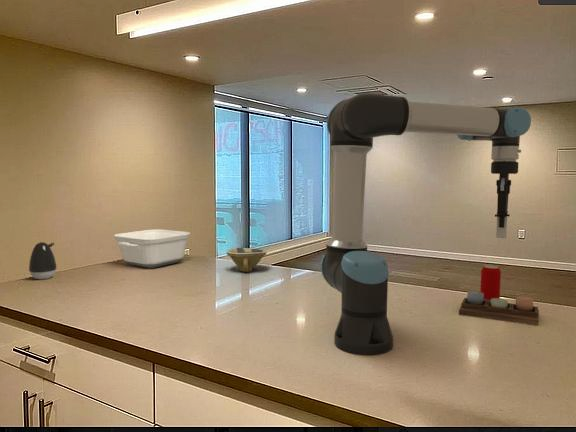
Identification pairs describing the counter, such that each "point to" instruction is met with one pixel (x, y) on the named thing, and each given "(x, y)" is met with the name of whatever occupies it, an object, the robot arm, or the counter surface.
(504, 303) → the sage button
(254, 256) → the bowl
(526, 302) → the terracotta button
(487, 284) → the beverage can
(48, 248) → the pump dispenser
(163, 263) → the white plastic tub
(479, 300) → the slate button
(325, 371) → the counter surface
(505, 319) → the panel
